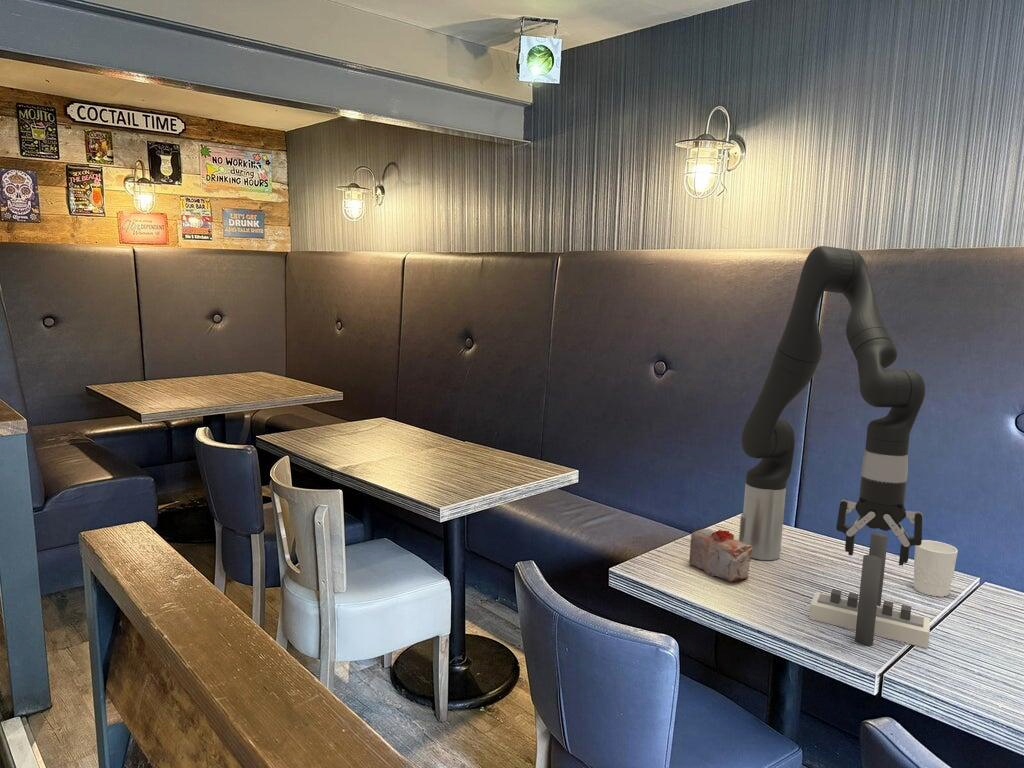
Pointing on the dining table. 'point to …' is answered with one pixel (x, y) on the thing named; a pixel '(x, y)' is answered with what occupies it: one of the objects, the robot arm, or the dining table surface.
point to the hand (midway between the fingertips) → (875, 559)
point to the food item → (720, 554)
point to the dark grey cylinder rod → (879, 549)
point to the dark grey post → (868, 600)
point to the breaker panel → (886, 623)
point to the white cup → (934, 567)
